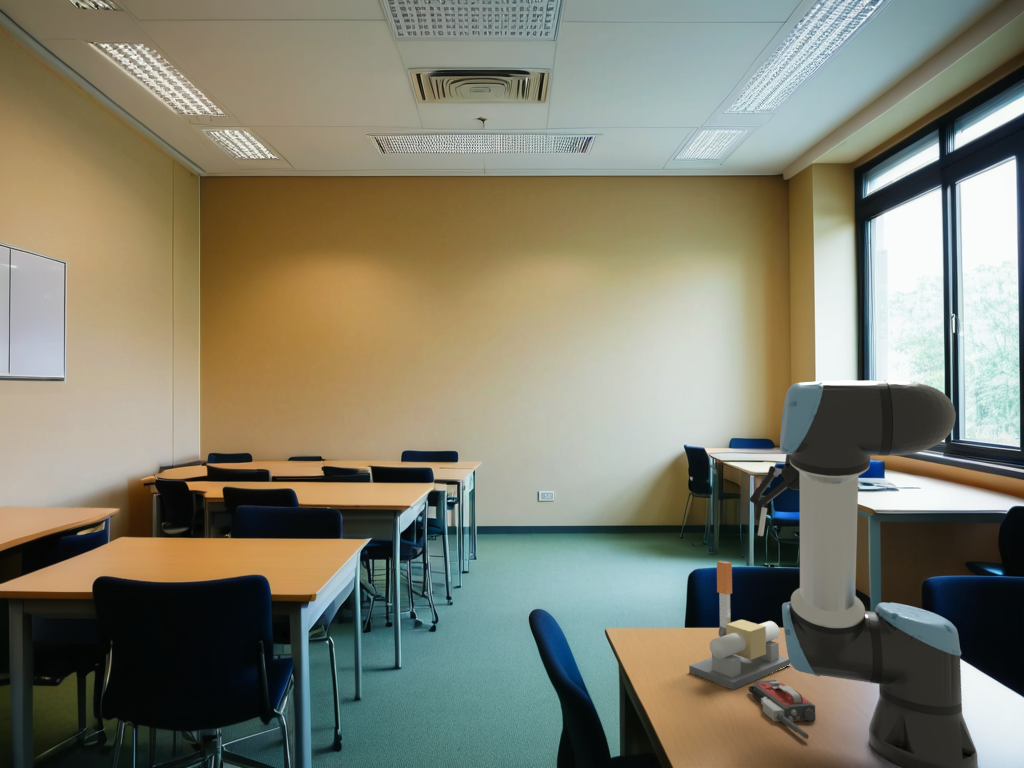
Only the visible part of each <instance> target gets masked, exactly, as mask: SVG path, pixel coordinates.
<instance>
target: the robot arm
mask: <svg viewBox="0 0 1024 768" xmlns="http://www.w3.org/2000/svg"><path fill="white" fill-rule="evenodd" d="M782 409H783V410H782V414H781V428H780V435H779V437H780V439H779V449H780V452H781V453H782V454H785V461H784V467H783V468H778V467H775V466H773V465H771V466H769V468H768V472H767V475H766V476H765V477H764V479H763V480H762V481H761V483H760V484H759V485H758V486H757V488H756V490H755V491H754V492H753V493H752V495H751V496H750V497H749V502H751V503H752V504H754V505H756V512H755V520H756V521H759V525H758V529H757V530H758V531H757V536H760V537H763V536H764V533H765V526H766V520H767V519H766V518H767V512H768V508H767V507H765V506H766V505H768V504H769V503H770V502H771V501H772V500H774V499H775V498H776V497H777V496H779V495H780V494H781V493H783V492H784V491H785V490H787V489H788V488H790V489H791V490H795V491H799V587H798V588H797V589H795V590H794V591H793V592H792V594H791V596H790V601H788V602H783V603H782V605H781V610H782V611H781V612H782V624H783V629H784V630H783V631H784V638H785V648H786V652H787V658H788V659H789V661H790V666H791V667H792V668H793V669H794V670H796V671H798V672H800V673H806V674H810V675H814V676H816V677H821V676H823V677H830V678H835V679H836V678H837V679H845V680H849V681H857V682H863V683H870V684H878V685H879V687H878V688H879V689H878V690H879V691H878V693H879V696H878V700H877V703H876V706H875V709H874V711H873V714H872V717H871V719H870V723H869V727H868V741H869V744H870V746H871V747H872V749H873V750H874V751H875V752H877V753H878V754H879V755H880V756H882V758H883V757H884V759H886V760H888V761H890V762H893V763H894V764H896V765H898V766H901V767H903V768H979V765H978V763H979V762H978V761H979V760H978V752H977V749H976V746H975V744H974V741H973V738H972V736H971V733H970V730H969V728H968V726H967V725H968V724H967V723H966V721H965V718H964V715H963V704H962V703H963V702H962V700H963V699H962V671H961V655H962V650H961V647H960V639H959V638H960V637H959V633H958V629H957V627H956V626H955V625H954V624H953V623H952V621H950V620H948V619H947V618H945V617H943V616H941V615H939V614H937V613H935V612H932V611H929V610H925V609H923V608H919V607H916V606H911V605H908V604H902V603H897V602H879V603H878V604H876V607H875V609H874V610H875V611H868V610H866V608H865V605H864V603H863V601H861V599H860V598H859V597H857V595H856V587H857V586H856V579H857V578H856V577H857V549H858V548H857V545H858V544H857V543H858V541H857V539H858V503H859V476H861V475H862V474H864V473H865V472H867V471H868V470H869V469H870V467H871V466H870V465H871V456H873V457H874V456H880V457H881V456H882V457H883V456H884V457H885V456H886V457H887V456H889V457H890V456H891V457H893V456H897V457H898V456H906V455H907V456H908V455H912V454H917V453H920V452H924V451H926V450H929V449H931V448H933V447H936V446H937V445H939V444H940V443H941V442H944V440H946V438H947V437H948V436H949V435H950V434H951V433H952V431H953V429H954V427H955V423H956V416H957V413H956V410H955V405H954V403H953V402H952V400H950V398H949V397H948V396H947V395H946V394H945V393H944V392H943V391H941V390H939V389H938V388H936V387H934V386H931V385H928V384H923V383H918V382H915V381H908V380H900V379H899V380H897V379H896V380H895V379H890V380H889V379H886V380H840V381H839V380H838V381H837V380H834V381H833V380H831V381H829V380H825V381H822V380H816V381H806V382H805V381H804V382H796V383H793V384H792V385H790V386H789V387H788V388H787V391H786V394H785V397H784V402H783V407H782ZM779 475H781V476H782V478H783V481H782V482H781V483H780V484H779V485H778V486H776V487H775V488H774V489H773V490H771V491H770V492H768V493H767V494H766V495H765V496H764V497H762V498H761V496H762V495H763V494H764V492H765V491H766V490H767V488H768V487H769V486H770V485H771V483H772V482H773V480H774V479H775V478H777V477H779ZM760 498H761V499H760Z"/></svg>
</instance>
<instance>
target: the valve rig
mask: <svg viewBox="0 0 1024 768" xmlns="http://www.w3.org/2000/svg"><path fill="white" fill-rule="evenodd" d="M780 633H781V631H780V627H779V626H778V625H777V623H776V622H774V621H772V620H768V621H765V622H761V623H756V622H751V621H749V620H746V619H738V620H735V621H731V622H730V623H728V624H726V635H725V636H722V637H720V636H719V637H716V638H713V639H712V640H710V642H709V650H710V652H711V657H709V658H706V659H704V660H701V661H697V662H694V663H693V664H689V666H688V667H689V673H690V672H691V673H690V674H692V673H693V674H692V675H695V674H696V675H695V676H697V675H698V677H699V678H700V677H701V678H702V677H703V679H705V680H707V681H711V682H712V681H713V682H712V683H715V684H717V685H720V686H723V687H724V688H725V687H726V688H727V689H730V690H736V689H739V688H741V687H743V686H746V685H747V684H750V682H751V683H753V682H756V681H758V680H759V678H760V679H762V678H764V676H765V677H767V676H769V675H768V674H770V673H772V672H774V671H776V670H779V669H780V668H783V667H785V666H787V665H789V664H790V661H789V657H784V656H782V655H780V653H779V652H780V650H779V649H780V648H779V647H780V646H779V643H778V642H777V641H774V640H777V639H778V638H780V635H781V634H780ZM790 665H791V664H790ZM779 671H780V670H779ZM774 673H775V672H774ZM772 674H773V673H772ZM766 675H767V676H766ZM770 675H771V674H770ZM761 677H762V678H761ZM757 679H758V680H757Z"/></svg>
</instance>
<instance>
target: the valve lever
mask: <svg viewBox="0 0 1024 768" xmlns="http://www.w3.org/2000/svg"><path fill="white" fill-rule="evenodd" d="M732 563H733V562H729V561H727V560H726V561H725V560H719V561H716V593H719V597H718V598H719V628H718V635H719V637H722V636H725V635H726V624H728V623H731V594H733V565H732Z"/></svg>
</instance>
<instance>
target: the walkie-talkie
mask: <svg viewBox="0 0 1024 768" xmlns="http://www.w3.org/2000/svg"><path fill="white" fill-rule="evenodd" d="M748 691H749V693H751V694H752V695H753V698H755V699H756V700H757V701H759V702H760V704H761V705H762V712H763V713H764V714H765V715H766V716H767V717H769V718H770V719H771V720H772V721H773V722H774V723H775V722H780V723H783V724H784V725H786V726H787V727H788V728H789V729H791V730H792V731H794V733H797V734H799V735H800V736H801V737H803V738H804V739H806V740H808V739H809V734H808V733H806V732H805V730H803V729H802V728H801V727H799V726H798V725H796V724H795V723H794V722H799V721H801V722H802V721H808V722H811V721H813V720H816V705H815V704H814V703H812V702H811V701H809V700H808V699H806V698H805V697H803V696H802V694H801V693H800V692H798V691H797V690H795V689H794V688H793V687H791V686H789V685H786V684H785V683H782V682H780V681H778V680H776V679H771V680H769V679H768V680H755V681H754V683H753V685H750V686H748Z"/></svg>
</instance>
